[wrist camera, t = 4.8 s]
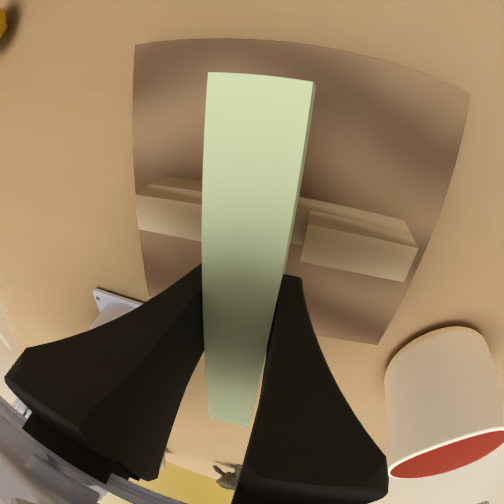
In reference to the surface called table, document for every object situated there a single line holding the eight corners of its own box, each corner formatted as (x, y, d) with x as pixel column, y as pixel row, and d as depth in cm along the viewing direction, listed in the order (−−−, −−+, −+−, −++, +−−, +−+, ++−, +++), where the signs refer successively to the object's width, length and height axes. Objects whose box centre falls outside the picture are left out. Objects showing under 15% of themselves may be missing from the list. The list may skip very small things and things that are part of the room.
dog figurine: (276, 473, 47) (269, 503, 41) (262, 476, 50) (255, 504, 44) (224, 457, 46) (214, 489, 40) (213, 460, 49) (204, 489, 43)
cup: (501, 330, 18) (533, 424, 9) (440, 392, 23) (449, 475, 15) (424, 306, 18) (452, 430, 10) (363, 380, 24) (361, 479, 16)
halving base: (376, 335, 20) (379, 376, 17) (154, 287, 23) (130, 321, 20) (462, 92, 11) (500, 98, 7) (144, 45, 13) (101, 42, 10)
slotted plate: (273, 328, 18) (248, 427, 12) (242, 321, 18) (208, 417, 13) (316, 85, 10) (313, 81, 5) (268, 78, 11) (207, 72, 5)
